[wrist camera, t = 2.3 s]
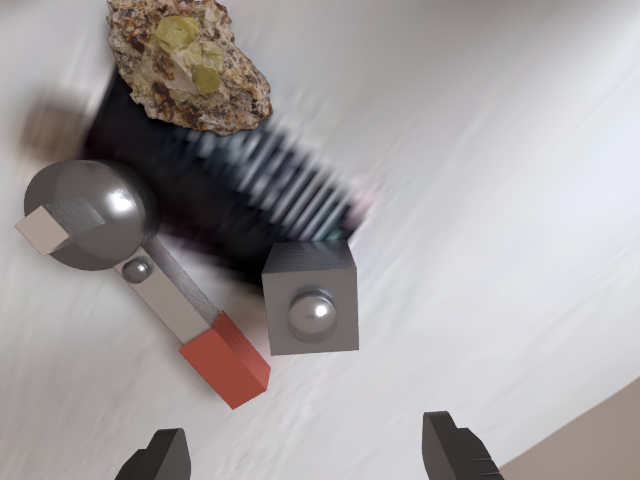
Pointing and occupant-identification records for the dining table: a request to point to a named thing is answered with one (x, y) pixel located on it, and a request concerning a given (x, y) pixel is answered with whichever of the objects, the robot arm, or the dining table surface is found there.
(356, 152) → the dining table surface
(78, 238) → the ratchet
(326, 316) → the domed steel cube
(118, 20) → the mineral rock
